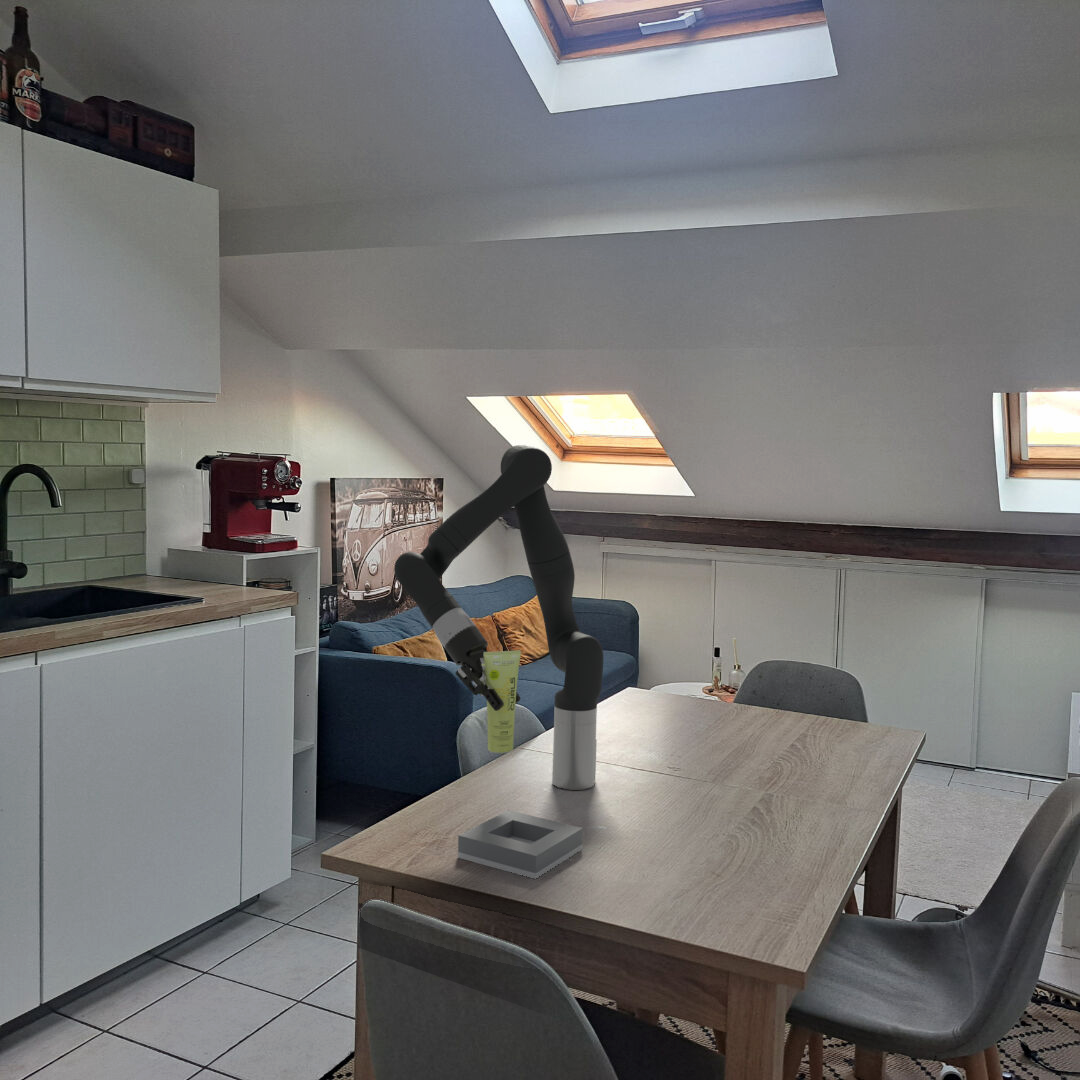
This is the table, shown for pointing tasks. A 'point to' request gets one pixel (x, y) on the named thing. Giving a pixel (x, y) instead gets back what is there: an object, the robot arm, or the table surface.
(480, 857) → the holder
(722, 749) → the table surface
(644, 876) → the table surface
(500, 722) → the tube
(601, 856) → the table surface
